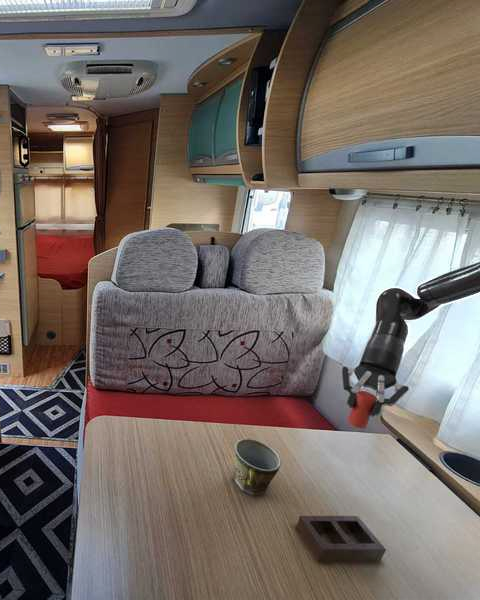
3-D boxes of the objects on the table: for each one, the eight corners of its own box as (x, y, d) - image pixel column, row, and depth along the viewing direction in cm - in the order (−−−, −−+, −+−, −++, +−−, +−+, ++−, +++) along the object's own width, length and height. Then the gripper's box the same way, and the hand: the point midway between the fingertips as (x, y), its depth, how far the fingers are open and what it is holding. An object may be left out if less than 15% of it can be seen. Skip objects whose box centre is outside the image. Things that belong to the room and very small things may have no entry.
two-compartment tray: (352, 528, 73) (357, 515, 71) (379, 562, 66) (386, 549, 65) (295, 528, 73) (300, 515, 71) (317, 563, 66) (322, 549, 65)
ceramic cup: (232, 462, 90) (239, 433, 86) (273, 480, 84) (282, 449, 81) (221, 497, 79) (229, 466, 76) (268, 520, 74) (278, 487, 71)
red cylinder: (364, 421, 88) (374, 393, 85) (367, 430, 85) (378, 401, 82) (346, 417, 90) (356, 389, 87) (349, 425, 86) (359, 397, 83)
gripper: (350, 339, 90) (328, 395, 86) (422, 359, 80) (401, 422, 77) (348, 350, 95) (327, 403, 92) (416, 369, 86) (395, 429, 82)
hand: (361, 411), depth 84 cm, fingers closed on red cylinder, 3 cm apart
